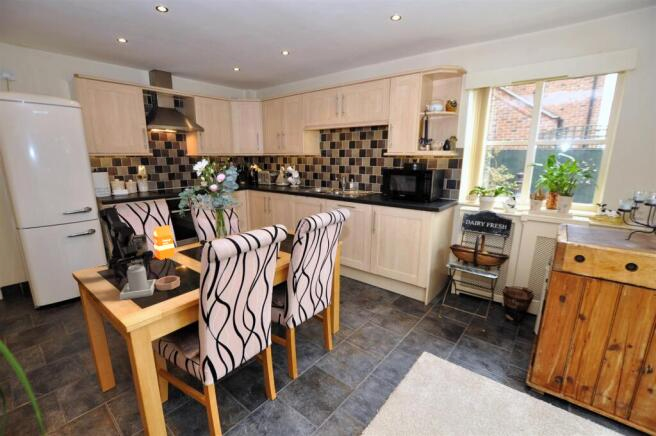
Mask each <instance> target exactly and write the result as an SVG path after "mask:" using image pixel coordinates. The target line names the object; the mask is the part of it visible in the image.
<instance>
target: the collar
mask: <svg viewBox="0 0 656 436" xmlns="http://www.w3.org/2000/svg"><path fill="white" fill-rule="evenodd" d="M180 279H181V278H180V276H177V275H168V276H162V277H160V278H159V279H156V282H155V286H156V287H155V290H158V291H169V290H174V289H175V288H178V287H180V285H181V284H180V283H181V280H180Z"/></svg>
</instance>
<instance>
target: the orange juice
mask: <svg viewBox="0 0 656 436" xmlns="http://www.w3.org/2000/svg"><path fill="white" fill-rule="evenodd" d="M152 240H153V247H154V254H155V258H157V259H158V260H160V261H162V260H166V259H168V258H169V257H170V258H173V257H172V256H174V257H175V246H174V238H173V232H172V231H171V228H170V226H169V224H168V225H162V226H156V227H154V229H153V234H152ZM165 258H166V259H165Z"/></svg>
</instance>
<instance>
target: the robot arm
mask: <svg viewBox="0 0 656 436" xmlns="http://www.w3.org/2000/svg"><path fill="white" fill-rule="evenodd" d="M96 213H97V214H96V215H97V218H98V219H99V220H100V222H101V223H102V224H103V225H104V226H105V227H106V230H107V231H106V232H107V235H108V237H109V238H108V239H109V241H110V244H111V248H112V251H111V253H110V257H109V258H108V259H107V262H106V267H107V270H111V271H113V273H114V276H113V278H114V279H117V278H127V270H128V267H130V266H131V265H129V264H131V263H132V261H134V260H139V259H143V262H142V265H143V267H145V270H146V273H148V272H149V262H151V260H153V257H154V254H155V253H154V252H153V251H152V250H149V249H148V251H144V252H143V254H142V255H138V256H137V254H138V252H137V251H138V250H141V249H142V246H141V244H140V243H136V244H135V245H133V244H132V241H131V240H132V238H133V235H134V232H135V231H134V229H133V228H132V227H131V226H129V225H128V224H127V223H126V222H123V221H122V219H121V218H120V216H119V211H118V209H117V208H116V206H115V207H114V206H110V207H104V208H103V209H99V210H98V211H97V212H96Z"/></svg>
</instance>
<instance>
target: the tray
mask: <svg viewBox="0 0 656 436" xmlns="http://www.w3.org/2000/svg"><path fill="white" fill-rule="evenodd" d="M156 280H157V279H155V278H154V279H147V284H148V287H147V289H146V290H141V291H134V292H131V291H130V289H129V283H128V282H126V284H125V285H124V287H123V288H122V290H121V292H120V293H119V299H120V301H125V300H132V299H138V298H146V297H152V296H153V294H154V292H155V291H156V286H155V282H156Z"/></svg>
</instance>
